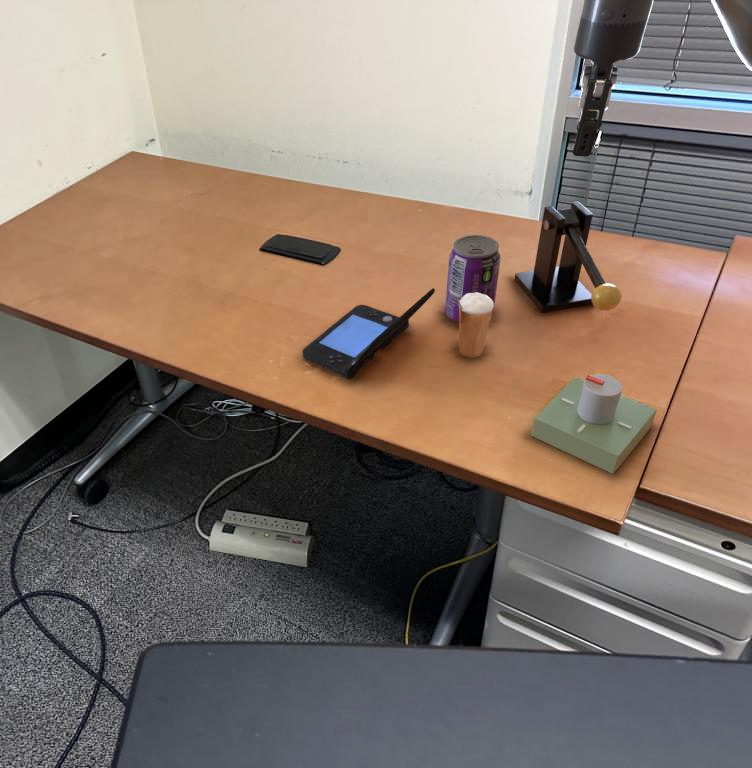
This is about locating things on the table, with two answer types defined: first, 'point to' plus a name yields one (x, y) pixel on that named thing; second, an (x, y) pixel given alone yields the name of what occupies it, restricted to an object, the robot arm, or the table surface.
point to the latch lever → (590, 265)
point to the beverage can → (471, 271)
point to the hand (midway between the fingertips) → (582, 142)
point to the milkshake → (474, 323)
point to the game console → (358, 338)
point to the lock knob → (599, 399)
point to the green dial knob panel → (592, 428)
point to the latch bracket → (558, 283)
